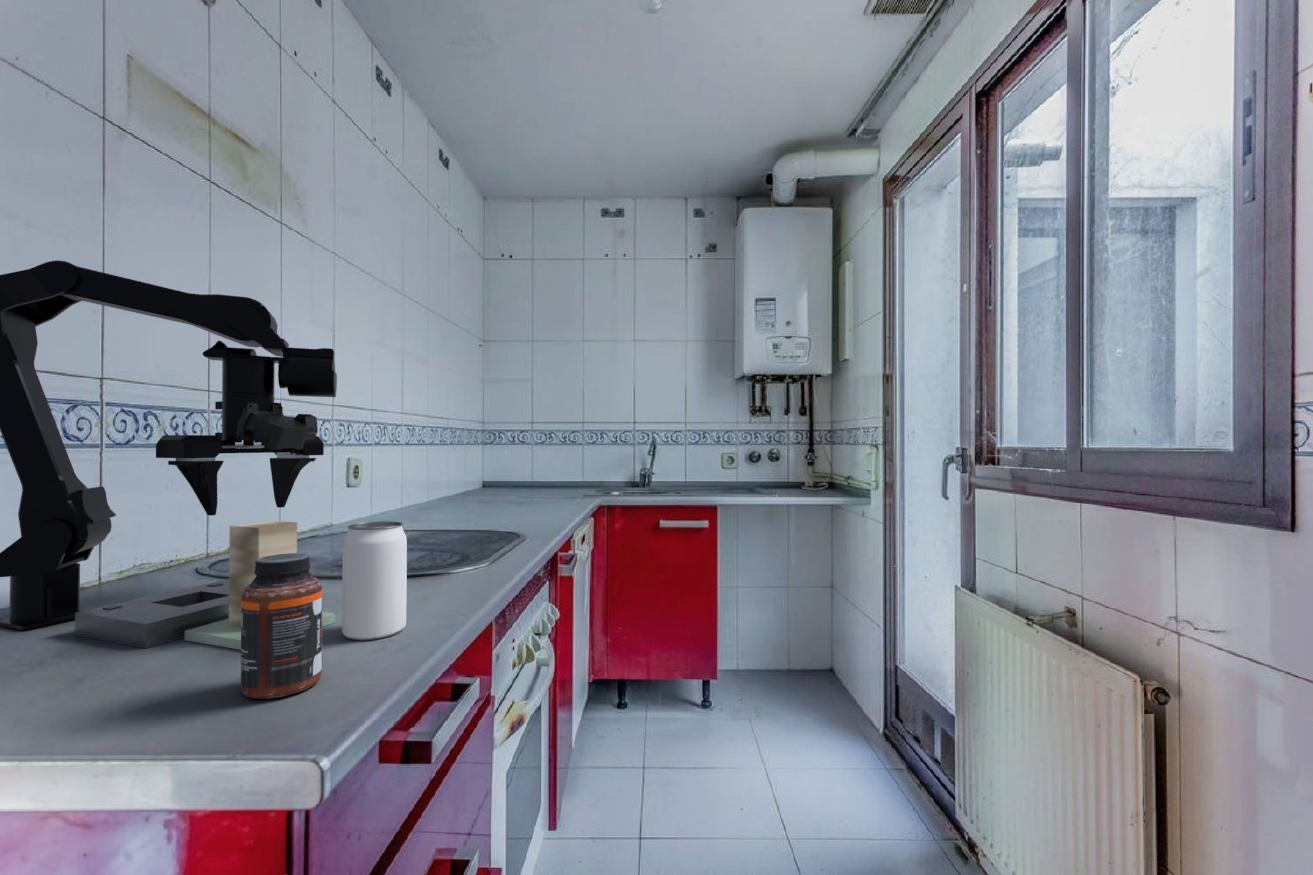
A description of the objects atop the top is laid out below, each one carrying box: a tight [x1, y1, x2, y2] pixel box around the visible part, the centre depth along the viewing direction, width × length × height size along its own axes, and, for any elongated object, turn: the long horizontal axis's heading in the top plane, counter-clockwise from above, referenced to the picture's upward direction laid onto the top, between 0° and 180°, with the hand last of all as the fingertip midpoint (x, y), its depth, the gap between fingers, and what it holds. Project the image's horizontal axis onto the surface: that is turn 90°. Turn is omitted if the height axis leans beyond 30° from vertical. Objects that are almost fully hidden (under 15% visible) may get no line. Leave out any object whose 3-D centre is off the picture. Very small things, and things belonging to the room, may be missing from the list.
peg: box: [228, 520, 298, 628], centre depth 65 cm, size 4×4×11 cm
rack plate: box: [74, 579, 229, 649], centre depth 69 cm, size 12×16×3 cm
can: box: [341, 520, 408, 642], centre depth 64 cm, size 6×6×12 cm
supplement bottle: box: [240, 552, 323, 700], centre depth 50 cm, size 6×6×11 cm
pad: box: [184, 611, 336, 651], centre depth 65 cm, size 10×10×1 cm
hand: (248, 511), depth 77 cm, fingers open, 9 cm apart
